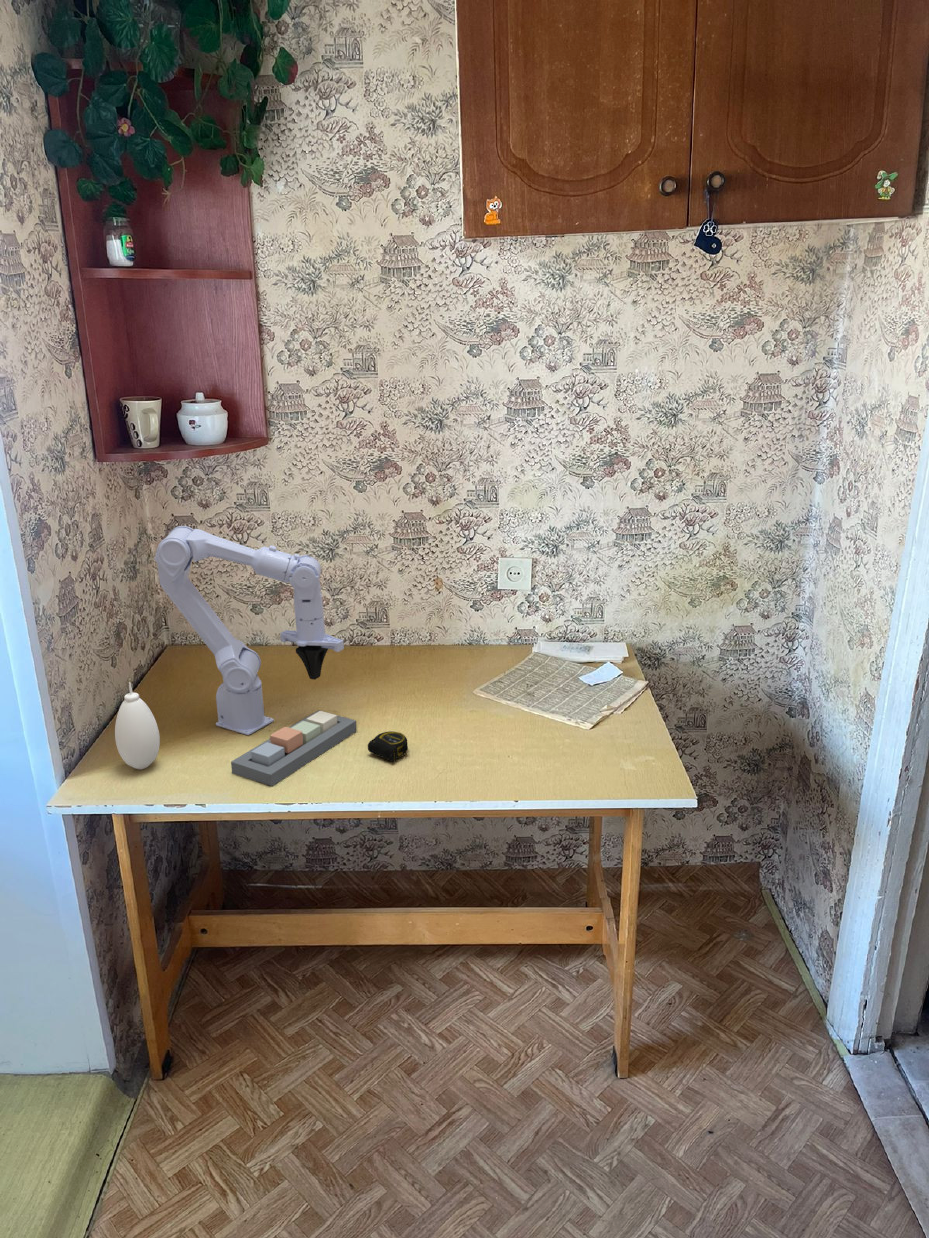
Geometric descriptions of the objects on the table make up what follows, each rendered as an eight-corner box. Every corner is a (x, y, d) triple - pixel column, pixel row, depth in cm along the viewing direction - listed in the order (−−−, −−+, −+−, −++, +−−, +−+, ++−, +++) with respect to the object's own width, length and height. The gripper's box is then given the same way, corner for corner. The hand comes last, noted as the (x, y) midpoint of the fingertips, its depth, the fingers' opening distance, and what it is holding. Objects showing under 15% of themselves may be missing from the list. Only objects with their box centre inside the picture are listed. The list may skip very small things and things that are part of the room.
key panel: (232, 773, 180) (230, 761, 179) (319, 720, 201) (318, 710, 200) (271, 786, 175) (270, 774, 174) (356, 731, 196) (356, 720, 195)
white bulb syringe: (147, 753, 188) (136, 670, 182) (170, 765, 183) (159, 680, 177) (112, 768, 182) (99, 683, 176) (135, 781, 178) (122, 694, 172)
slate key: (252, 764, 181) (251, 751, 180) (267, 754, 184) (266, 742, 183) (269, 770, 178) (268, 757, 177) (285, 760, 182) (284, 747, 181)
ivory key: (307, 731, 194) (306, 718, 193) (320, 722, 197) (320, 710, 196) (324, 736, 191) (323, 723, 190) (337, 727, 195) (336, 715, 194)
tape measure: (366, 756, 187) (365, 739, 185) (390, 743, 191) (389, 726, 190) (391, 766, 182) (390, 749, 181) (415, 753, 187) (414, 736, 186)
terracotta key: (271, 748, 185) (269, 735, 184) (286, 739, 188) (285, 726, 187) (288, 753, 182) (287, 740, 181) (303, 744, 186) (302, 731, 185)
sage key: (289, 741, 189) (288, 729, 188) (304, 732, 193) (303, 720, 192) (306, 746, 187) (305, 734, 186) (320, 737, 191) (320, 725, 190)
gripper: (268, 617, 192) (275, 678, 197) (327, 627, 186) (332, 690, 190) (289, 607, 198) (295, 666, 202) (347, 616, 191) (352, 677, 196)
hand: (315, 677), depth 197 cm, fingers closed
